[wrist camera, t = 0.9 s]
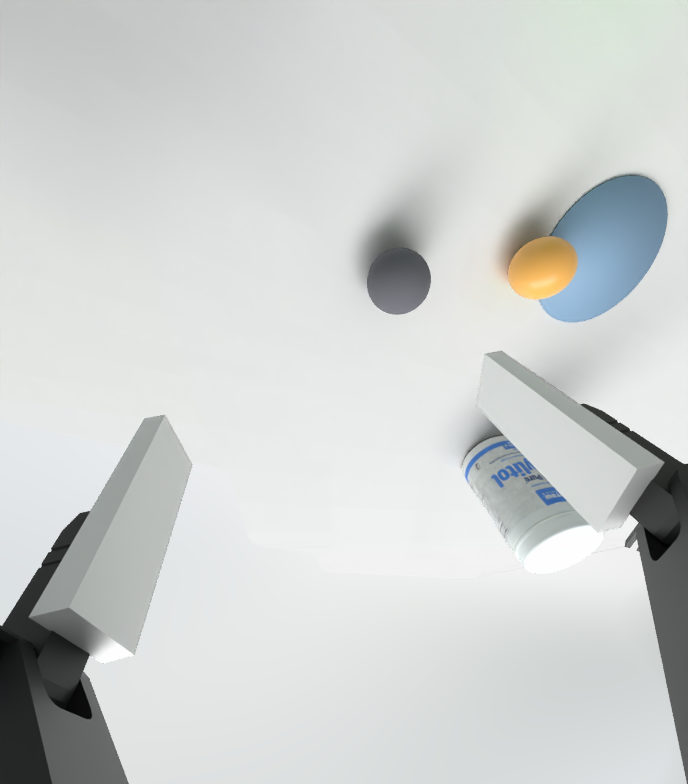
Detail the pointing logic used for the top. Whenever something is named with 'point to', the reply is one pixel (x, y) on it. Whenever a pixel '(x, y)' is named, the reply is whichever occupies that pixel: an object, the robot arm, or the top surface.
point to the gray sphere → (398, 281)
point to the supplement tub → (528, 508)
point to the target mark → (609, 245)
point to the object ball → (542, 267)
